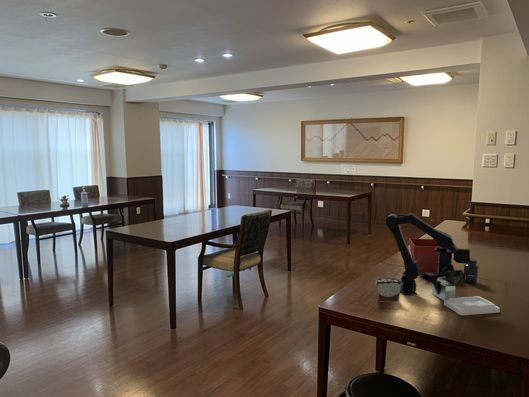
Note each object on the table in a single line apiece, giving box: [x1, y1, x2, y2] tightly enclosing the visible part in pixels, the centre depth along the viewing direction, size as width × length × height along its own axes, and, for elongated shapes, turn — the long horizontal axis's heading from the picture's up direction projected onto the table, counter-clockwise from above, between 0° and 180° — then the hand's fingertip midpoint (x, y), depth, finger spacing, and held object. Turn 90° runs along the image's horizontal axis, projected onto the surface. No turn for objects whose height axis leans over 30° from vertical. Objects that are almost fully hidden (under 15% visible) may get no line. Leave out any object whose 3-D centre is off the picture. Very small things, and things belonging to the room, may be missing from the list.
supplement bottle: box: [462, 258, 480, 285], centre depth 206 cm, size 7×7×12 cm
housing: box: [431, 278, 456, 302], centre depth 185 cm, size 5×10×7 cm, turn 10°
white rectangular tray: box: [443, 295, 501, 316], centre depth 173 cm, size 18×12×3 cm, turn 100°
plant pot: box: [408, 237, 449, 275], centre depth 225 cm, size 19×19×17 cm
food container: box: [374, 276, 403, 303], centre depth 184 cm, size 12×6×10 cm, turn 92°
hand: (443, 293), depth 186 cm, fingers closed on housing, 5 cm apart
